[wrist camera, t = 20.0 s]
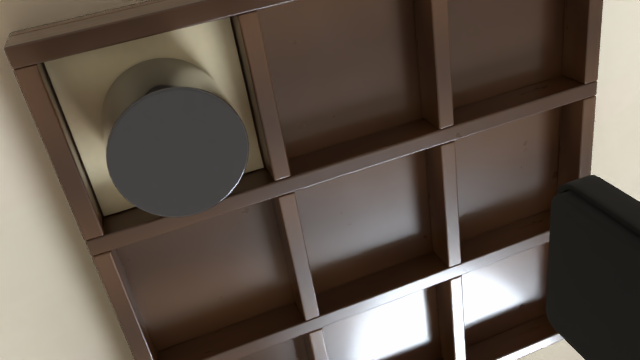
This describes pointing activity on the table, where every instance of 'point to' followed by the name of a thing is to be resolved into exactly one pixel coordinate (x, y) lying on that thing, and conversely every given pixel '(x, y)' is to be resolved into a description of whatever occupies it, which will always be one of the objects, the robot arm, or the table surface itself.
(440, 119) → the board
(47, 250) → the table surface
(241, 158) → the dark grey cylinder
